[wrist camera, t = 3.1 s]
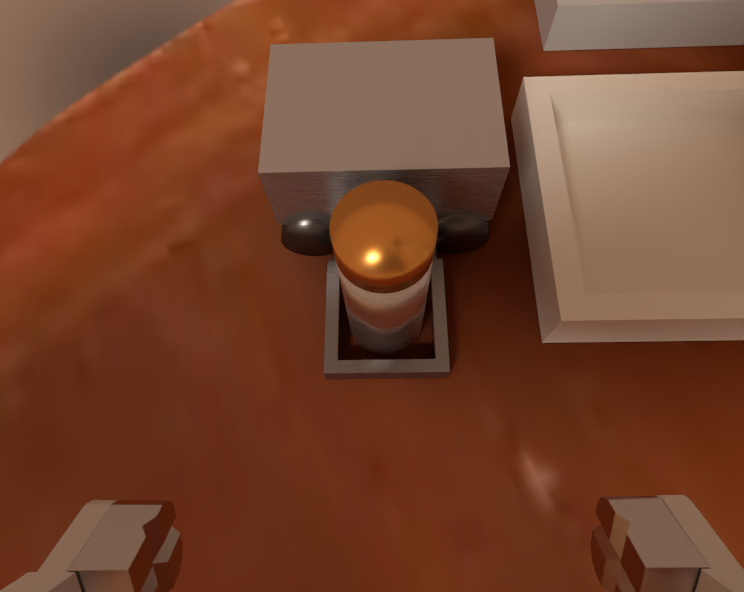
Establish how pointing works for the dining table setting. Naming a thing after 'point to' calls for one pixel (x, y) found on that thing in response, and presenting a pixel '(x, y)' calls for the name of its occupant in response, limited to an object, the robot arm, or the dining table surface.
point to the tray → (634, 204)
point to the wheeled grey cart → (384, 156)
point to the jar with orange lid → (384, 262)
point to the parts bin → (639, 23)
